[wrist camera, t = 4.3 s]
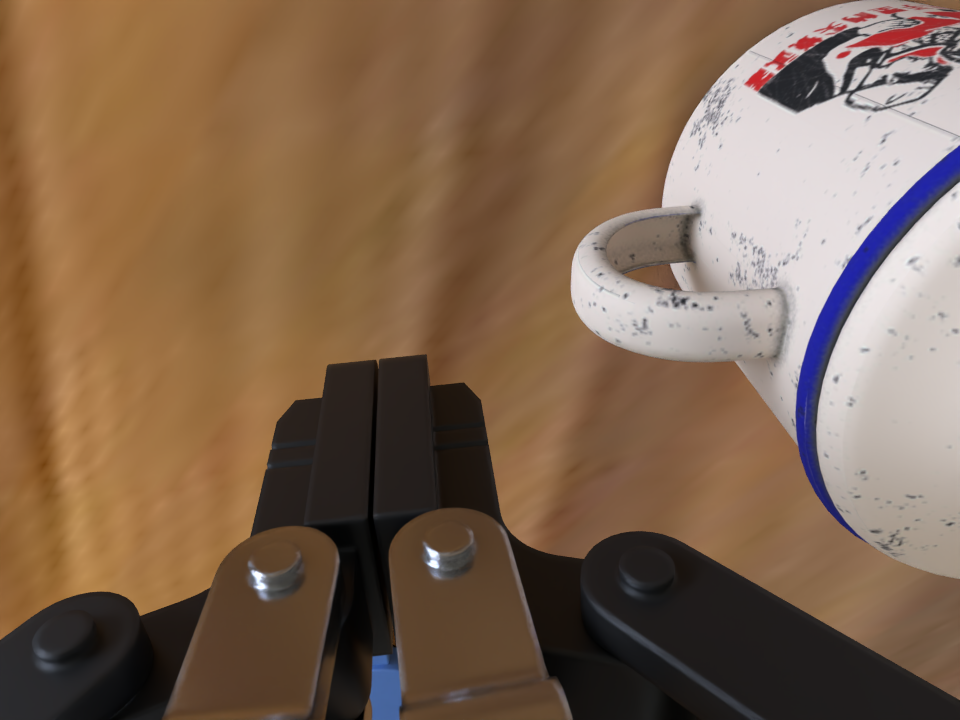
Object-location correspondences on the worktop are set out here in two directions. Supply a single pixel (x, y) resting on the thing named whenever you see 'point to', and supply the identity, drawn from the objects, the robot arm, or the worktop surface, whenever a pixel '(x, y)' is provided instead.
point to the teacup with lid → (820, 260)
